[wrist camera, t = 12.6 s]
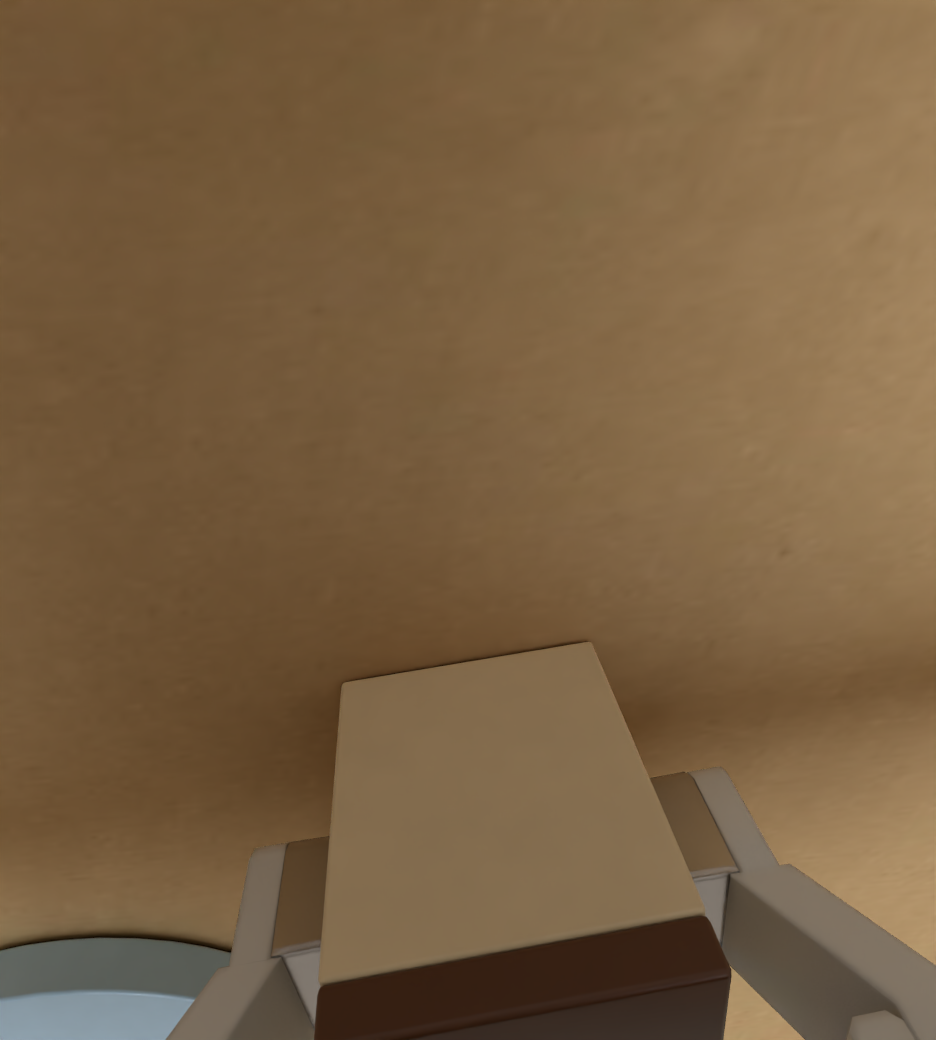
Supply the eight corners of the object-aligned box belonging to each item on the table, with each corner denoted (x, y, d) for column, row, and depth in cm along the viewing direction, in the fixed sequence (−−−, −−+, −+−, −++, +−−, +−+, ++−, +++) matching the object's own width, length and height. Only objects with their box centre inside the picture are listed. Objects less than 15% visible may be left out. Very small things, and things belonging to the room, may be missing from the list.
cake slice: (340, 681, 11) (310, 1053, 6) (591, 639, 11) (735, 973, 6) (386, 843, 12) (387, 1215, 8) (597, 806, 13) (711, 1150, 8)
